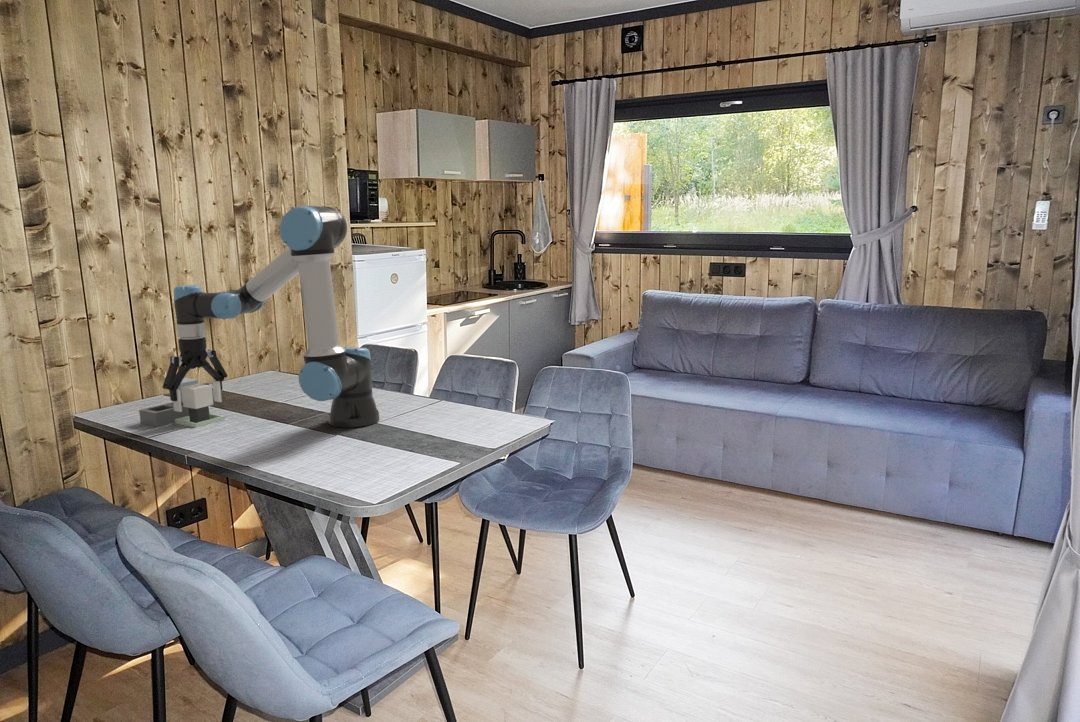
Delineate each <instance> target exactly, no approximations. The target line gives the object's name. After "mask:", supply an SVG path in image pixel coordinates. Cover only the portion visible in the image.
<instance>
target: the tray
mask: <svg viewBox="0 0 1080 722" xmlns="http://www.w3.org/2000/svg"><path fill="white" fill-rule="evenodd" d="M209 416H210V419H209V420H206V421H202V422H198V423H193V422H190V417H189V416H187V417H183V418H179V419H175V423H174V424H176V425H180V426H186V427H190V428H195V429H197V428H200V427H204V426H208V425H212V424H215V423H216V424H217V423H219V422H223V421H226V420H225V419H226V418H225V415H220V414H216V413H210V412H209Z"/></svg>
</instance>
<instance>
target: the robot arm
mask: <svg viewBox="0 0 1080 722" xmlns="http://www.w3.org/2000/svg"><path fill="white" fill-rule="evenodd" d="M279 224H280V225H279V234H280V237H281V240H282V242H283V243H284V244H285V245H286V246H287V248H286V249H284V250H283V252H281V253H280V254H279V255H278V256H277V257H275V258H274V259H273V260H272V261H270V262H269V263H268V264H267V265H266V266H264V267H263V268H262V269H261V270H260V271H259V272H258V273H256V274H255V275H254V276H253V277H252V278H250V279H249V280H248V281H247V282H246V283H244V284H243V285H242V286H241V287H240V288H238V289H233V290H228V291H227V290H225V291H219V292H204V291H202V287H201V286H200V285H196V284H185V285H183V284H182V285H177V286H175V287H174V288H173V304H174V309H175V318H176V329H177V330H176V331H177V337H179V338H178V340H177V342H178V350H179V352H180V355H179V356H176V355H175V356H174V355H171V356H170V358H169V363H170V364H169V366H168V369H167V372H166V375H165V379H164V382H163V384H162V389H164V390H168V391H169V398H170V397H171V400H170V401H171V402H173V405H174V411H177V412H182V406H181V396H180V390H177V389H178V387H179V385H180V384H181V382H182V380H183V378H186V376H187V373H188V372H189V371H190V370H191V369H192V370H193V369H196V368H203V370H204V371H206V373H208V375H210V376H211V377H212V378H213V380H211V383H212V385H211V386H212V394H213V402H217V403H222V401H223V400H222V391H223V382H224V380H225V378H228V374H227V372H226V370H225V368H224V367H223V365H222V363H221V361H220V360H219V358H218V355H217V351H216V350H215V349H208V350H206V349H207V338H206V337H205V335H206V327H205V326H206V325H205V319H222V320H227V319H228V320H229V319H235V318H237V317H238V315H243V314H252V313H255V312H257V311H260V310H261V309H262V308H263V307H264V305H265V302H266V300H267V299H269V298H271V296H272V295H274V294H276V292H278V291H279V290H280V289H282V288H283V286H285V285H286V284H287V283H289V282H291V280H292V279H293V278H295V277H296V276H297V275H299V276H298V277H299V284H300V290H301V291H300V292H301V299H302V306H303V308H302V309H303V315H304V324H305V331H306V332H305V333H306V339H307V349H306V350H305V351H304V352H303V362H304V365H303V366H302V367H301V369H300V370H299V372H298V383H299V386H300V388H301V391H302V392H303V393H304V394H305V395H307V397H309V398H310V399H311V400H315V401H318V402H327V401H329V400H331V401H332V402H331V405H330V412H329V414H328V424H329V425H330V426H332V427H337V428H359V427H366V426H367V427H368V426H370V425H373V424H377V422H380V411H379V409H377V405H376V402H375V399H374V397H373V384H372V383H373V382H372V381H373V380H372V359H371V352H370V350H369V349H368V348H366V347H356V346H353V347H351V346H342V345H341V344H340V336H339V329H338V322H337V320H338V319H337V313H336V311H337V310H336V302H335V297H334V295H335V294H334V287H333V285H334V284H333V277H332V271H331V270H332V268H331V263H330V262H331V260H332V258H333V257H334V255H335V249H336V248H337V247H338V246H339V245H341V244H342V243H343V241H344V240H345V239H346V236H347V232H348V224H347V220H346V218H345V217H344V215H343V214H342V213H341V212H340V211H339V210H338V209H336V208H334V207H331V206H324V205H323V206H317V205H315V206H314V205H301V206H295V207H292V208H291V209H289V210H288V211H287V212H286V213H285V214H284V215H283V217H282V218H281V221H280V223H279ZM207 358H208V359H209V361H210V363H211V365H210V363H209V361H207ZM180 363H181V364H180Z"/></svg>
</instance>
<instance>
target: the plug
mask: <svg viewBox="0 0 1080 722" xmlns="http://www.w3.org/2000/svg"><path fill="white" fill-rule="evenodd" d="M181 388H182V398H183V407H188V408H189V417H190V422H193V423H198V422H202V421H206V420H209V419H210V416H209V413H210V409H209V408H210V406H213V405H214V395H213V385H210V384H209V385H205V384H204V383H198V384H195V385H190V386H185V387H181Z"/></svg>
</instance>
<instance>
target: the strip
mask: <svg viewBox="0 0 1080 722" xmlns="http://www.w3.org/2000/svg"><path fill="white" fill-rule="evenodd" d="M195 384H199V379H195V378H189V377H184V378H183V380H182V382H181V384H180V385H179V387H178V389H177V390H180V396H181V406H182V412H177V411H174V405H173V401H171V397H170V396H169V399H170V401H171V402H169V403H168V402H167V403H164V404H159V405H154V406H151V407H147V408H143V409H139V410H138V413H139V420H140V425H142V426H147V427H152V428H156V429H157V428H158V429H159V428H161V427H166V426H170V425H172V424H175V419H179V418H183V417H187V416H189V408H188V407H183V398H182V388H181V387H185V386H190V385H195ZM203 384H205V385H210V383H208V382H205V383H203Z"/></svg>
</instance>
